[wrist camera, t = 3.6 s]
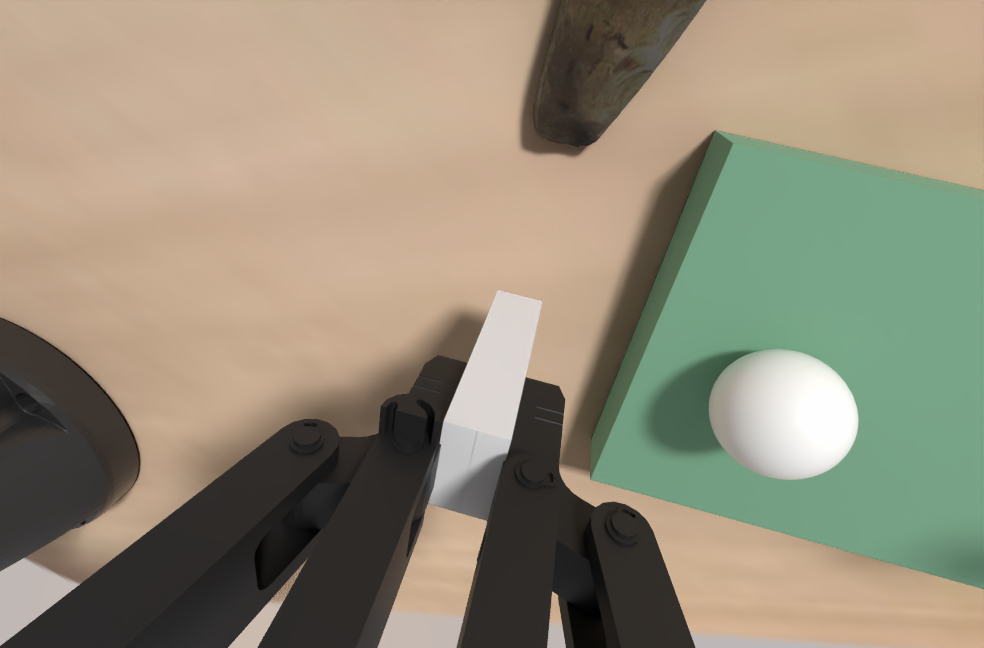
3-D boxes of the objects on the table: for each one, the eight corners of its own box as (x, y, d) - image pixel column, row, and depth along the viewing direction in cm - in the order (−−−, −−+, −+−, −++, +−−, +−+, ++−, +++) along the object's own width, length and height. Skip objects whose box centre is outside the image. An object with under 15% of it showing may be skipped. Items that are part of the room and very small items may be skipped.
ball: (681, 404, 18) (700, 487, 15) (727, 313, 16) (762, 384, 13) (789, 432, 18) (835, 524, 14) (850, 343, 16) (921, 425, 12)
